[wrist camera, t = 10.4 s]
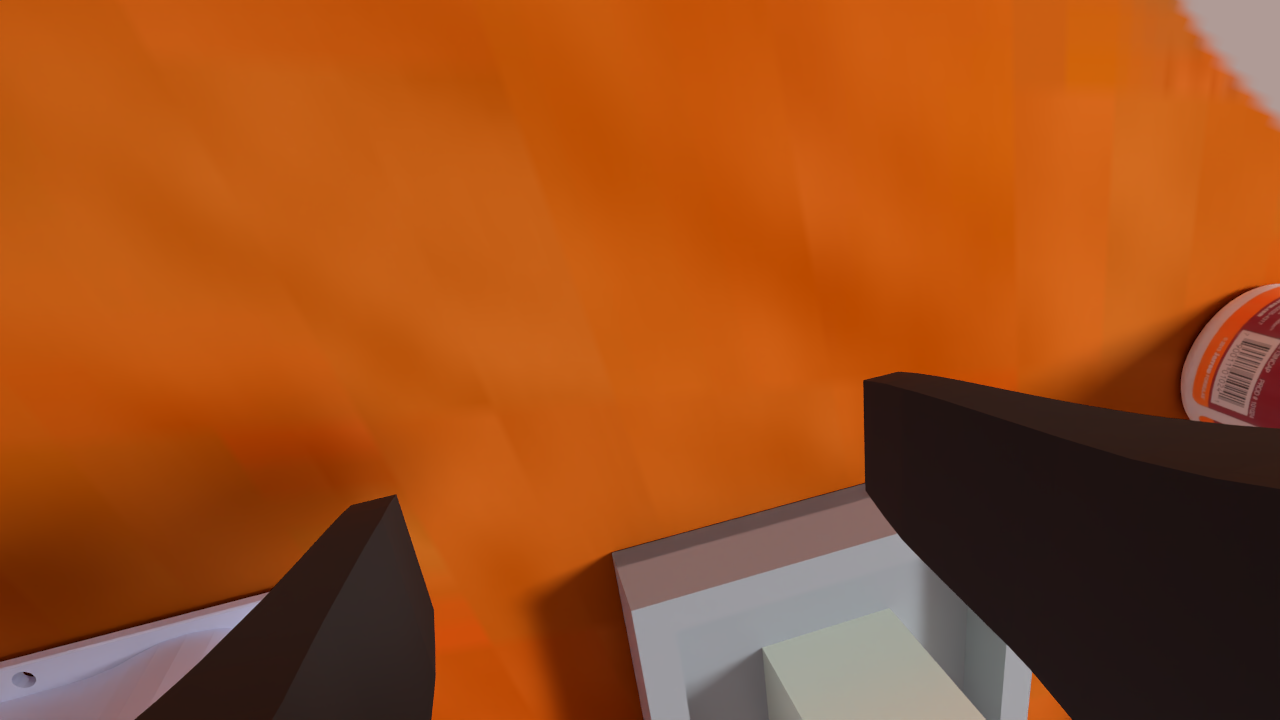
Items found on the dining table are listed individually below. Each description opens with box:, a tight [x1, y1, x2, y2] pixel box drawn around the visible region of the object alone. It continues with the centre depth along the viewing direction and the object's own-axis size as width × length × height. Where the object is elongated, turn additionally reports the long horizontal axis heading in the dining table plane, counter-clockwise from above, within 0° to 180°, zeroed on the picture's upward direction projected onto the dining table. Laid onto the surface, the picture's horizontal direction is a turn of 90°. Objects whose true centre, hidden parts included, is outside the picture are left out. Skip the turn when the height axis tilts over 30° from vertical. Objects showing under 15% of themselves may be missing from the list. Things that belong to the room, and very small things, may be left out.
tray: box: [612, 484, 1032, 720], centre depth 24 cm, size 14×16×3 cm
